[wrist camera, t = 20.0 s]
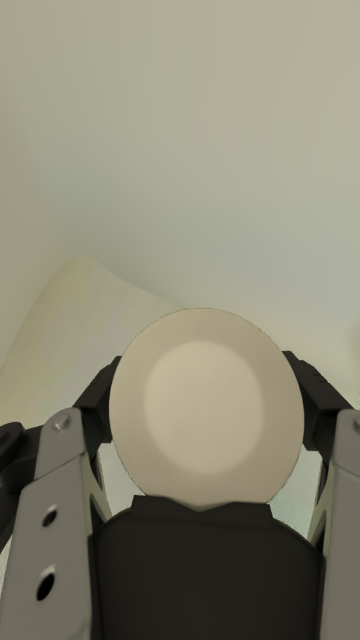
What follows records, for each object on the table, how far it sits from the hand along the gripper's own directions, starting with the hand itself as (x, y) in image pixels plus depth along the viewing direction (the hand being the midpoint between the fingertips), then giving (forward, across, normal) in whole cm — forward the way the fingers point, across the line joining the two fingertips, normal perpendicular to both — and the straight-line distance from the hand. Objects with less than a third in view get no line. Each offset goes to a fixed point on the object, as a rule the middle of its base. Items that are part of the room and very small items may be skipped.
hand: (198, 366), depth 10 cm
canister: (+3, 0, +5) cm, 6 cm away
